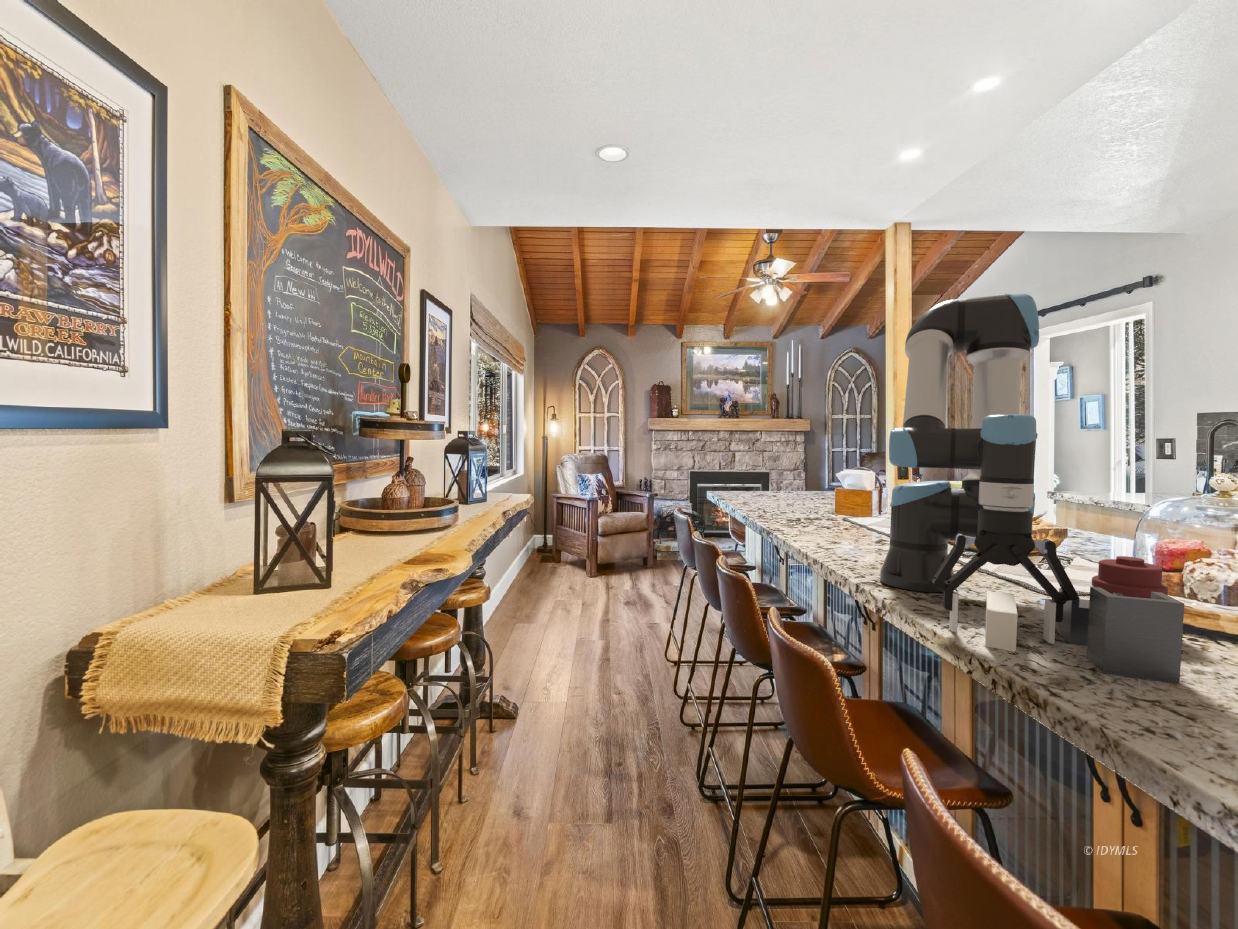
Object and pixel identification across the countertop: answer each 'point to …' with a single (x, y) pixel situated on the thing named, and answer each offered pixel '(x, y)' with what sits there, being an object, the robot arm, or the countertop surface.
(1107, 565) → the mechanical component
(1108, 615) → the cup bracket
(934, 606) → the countertop surface
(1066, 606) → the grey channel block
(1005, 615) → the cream rectangular block
